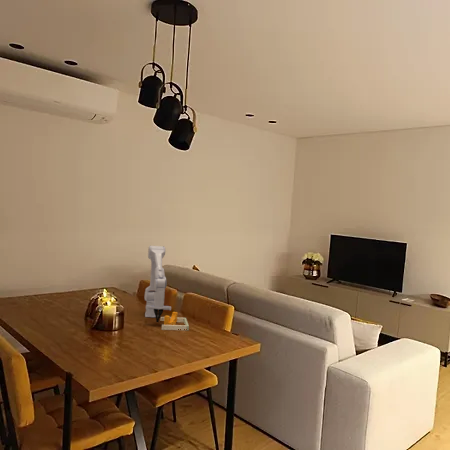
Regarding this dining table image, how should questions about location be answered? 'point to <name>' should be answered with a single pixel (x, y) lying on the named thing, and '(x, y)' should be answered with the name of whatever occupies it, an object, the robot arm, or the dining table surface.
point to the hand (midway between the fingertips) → (157, 321)
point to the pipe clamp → (173, 319)
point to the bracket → (176, 327)
